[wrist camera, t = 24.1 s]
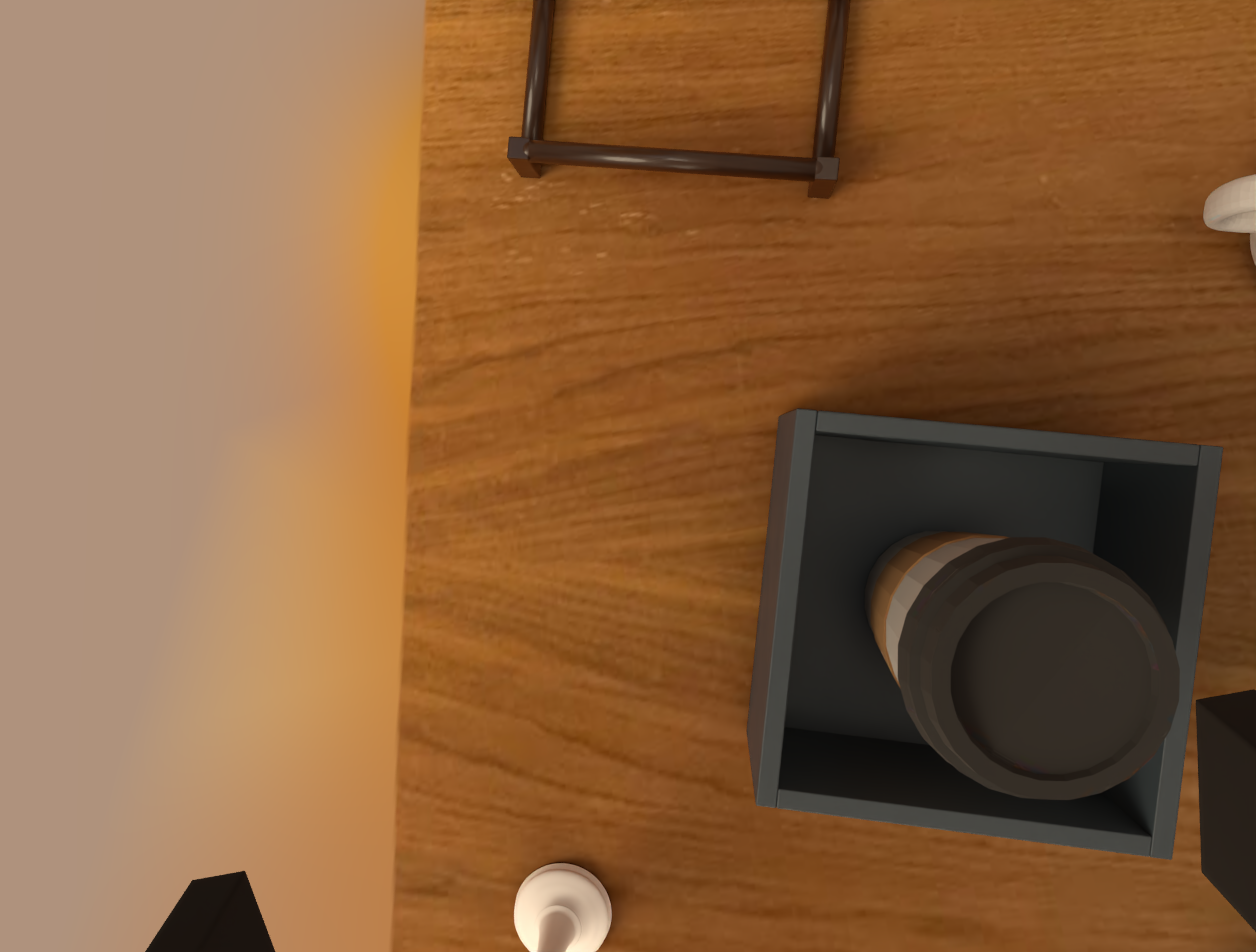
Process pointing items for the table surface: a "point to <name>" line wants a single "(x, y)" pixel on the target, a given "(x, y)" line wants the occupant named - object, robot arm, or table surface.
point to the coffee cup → (1024, 660)
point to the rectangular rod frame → (815, 170)
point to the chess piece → (562, 910)
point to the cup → (1234, 208)
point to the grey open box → (956, 502)
